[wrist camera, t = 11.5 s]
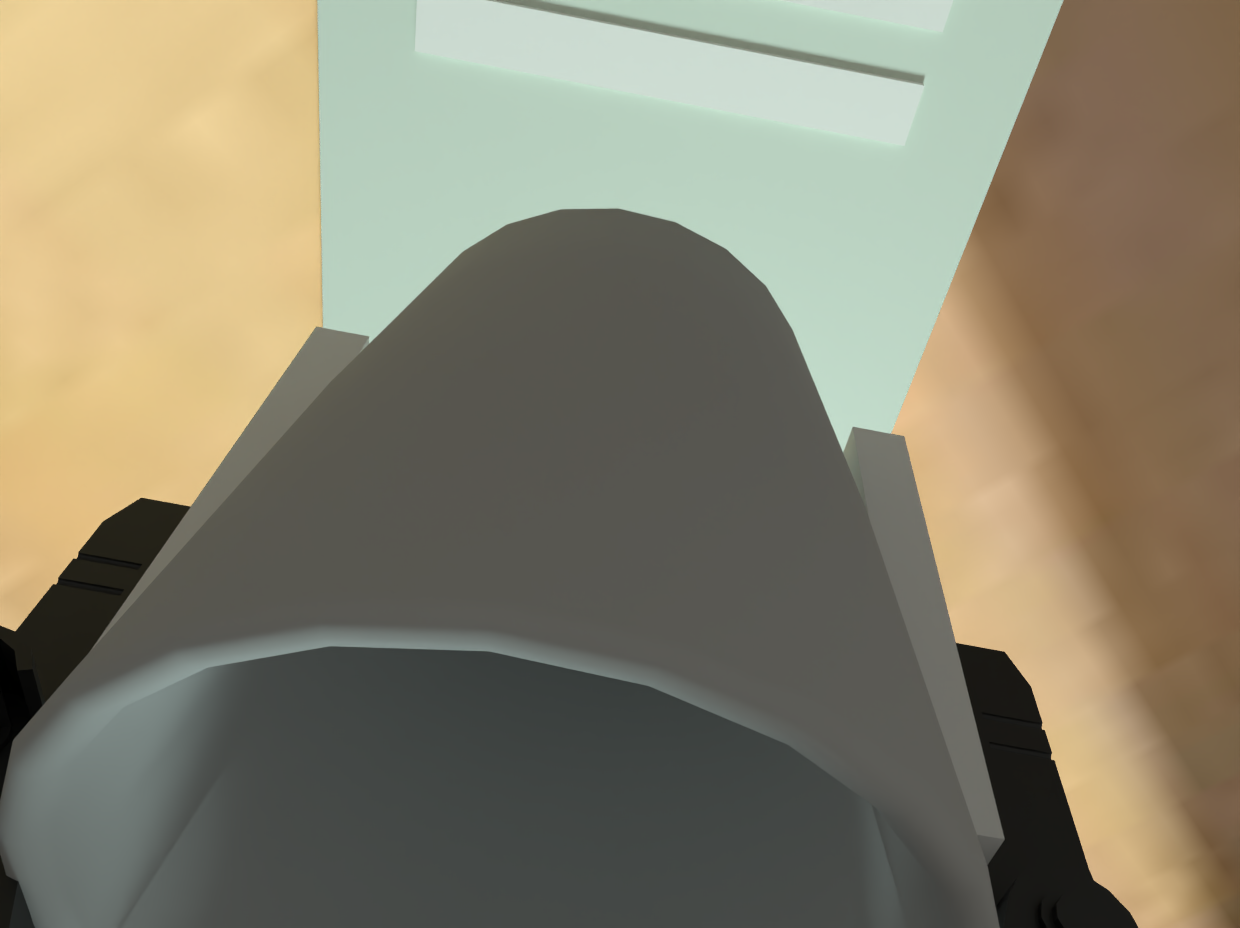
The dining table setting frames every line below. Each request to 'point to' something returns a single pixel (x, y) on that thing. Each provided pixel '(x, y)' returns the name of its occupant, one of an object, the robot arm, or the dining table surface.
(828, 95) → the pad green
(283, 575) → the cup
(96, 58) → the dining table surface
